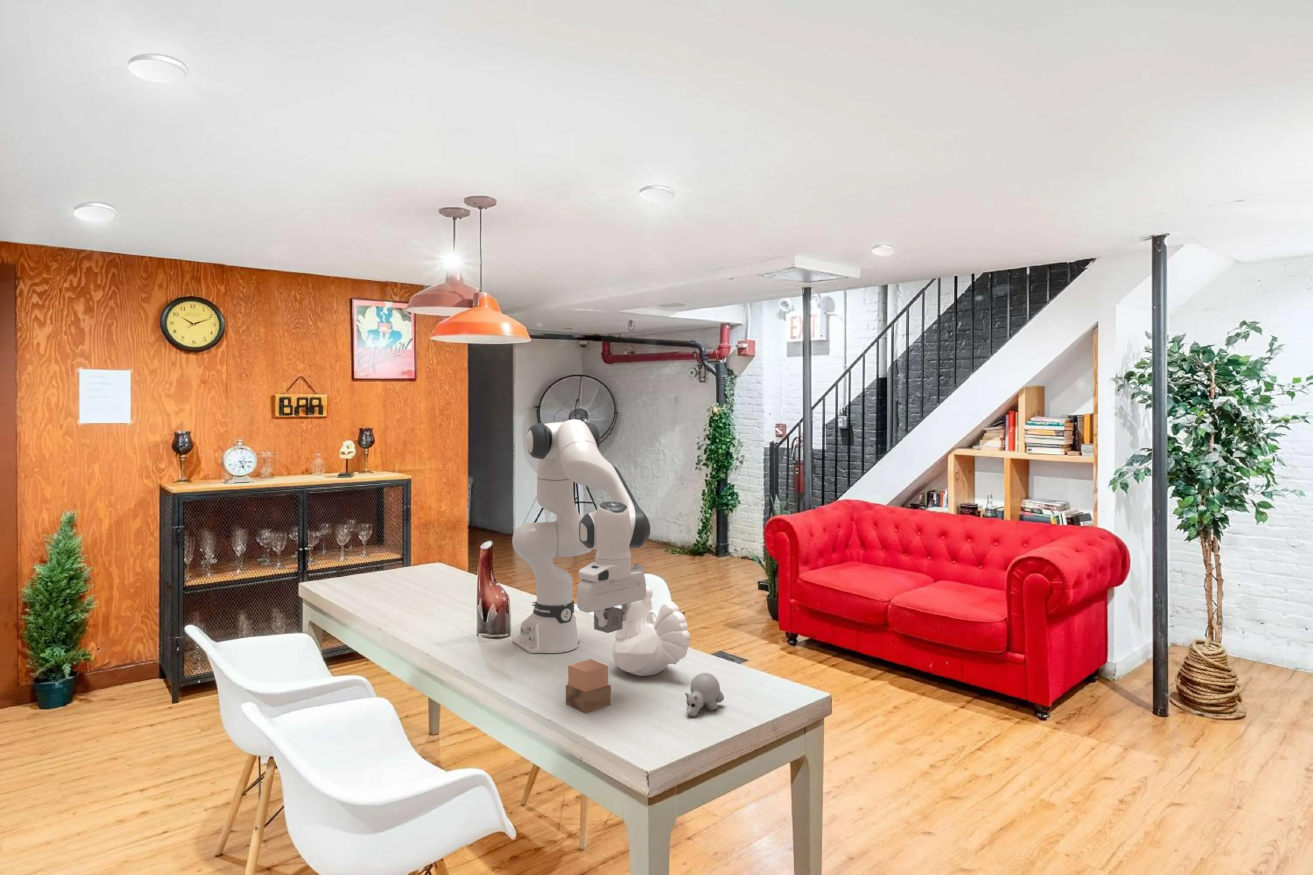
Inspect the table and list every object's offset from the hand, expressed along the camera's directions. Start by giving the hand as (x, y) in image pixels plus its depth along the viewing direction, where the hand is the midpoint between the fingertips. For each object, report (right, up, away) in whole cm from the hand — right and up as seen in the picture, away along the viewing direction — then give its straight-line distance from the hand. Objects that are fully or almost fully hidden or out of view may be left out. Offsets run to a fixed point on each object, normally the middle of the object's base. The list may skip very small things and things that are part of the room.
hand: (612, 623), depth 189 cm
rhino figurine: (+22, -21, -3) cm, 30 cm away
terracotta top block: (-6, -16, +1) cm, 17 cm away
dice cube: (-1, -2, +1) cm, 3 cm away
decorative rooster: (+9, -20, +22) cm, 31 cm away
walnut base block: (-6, -21, +1) cm, 21 cm away
